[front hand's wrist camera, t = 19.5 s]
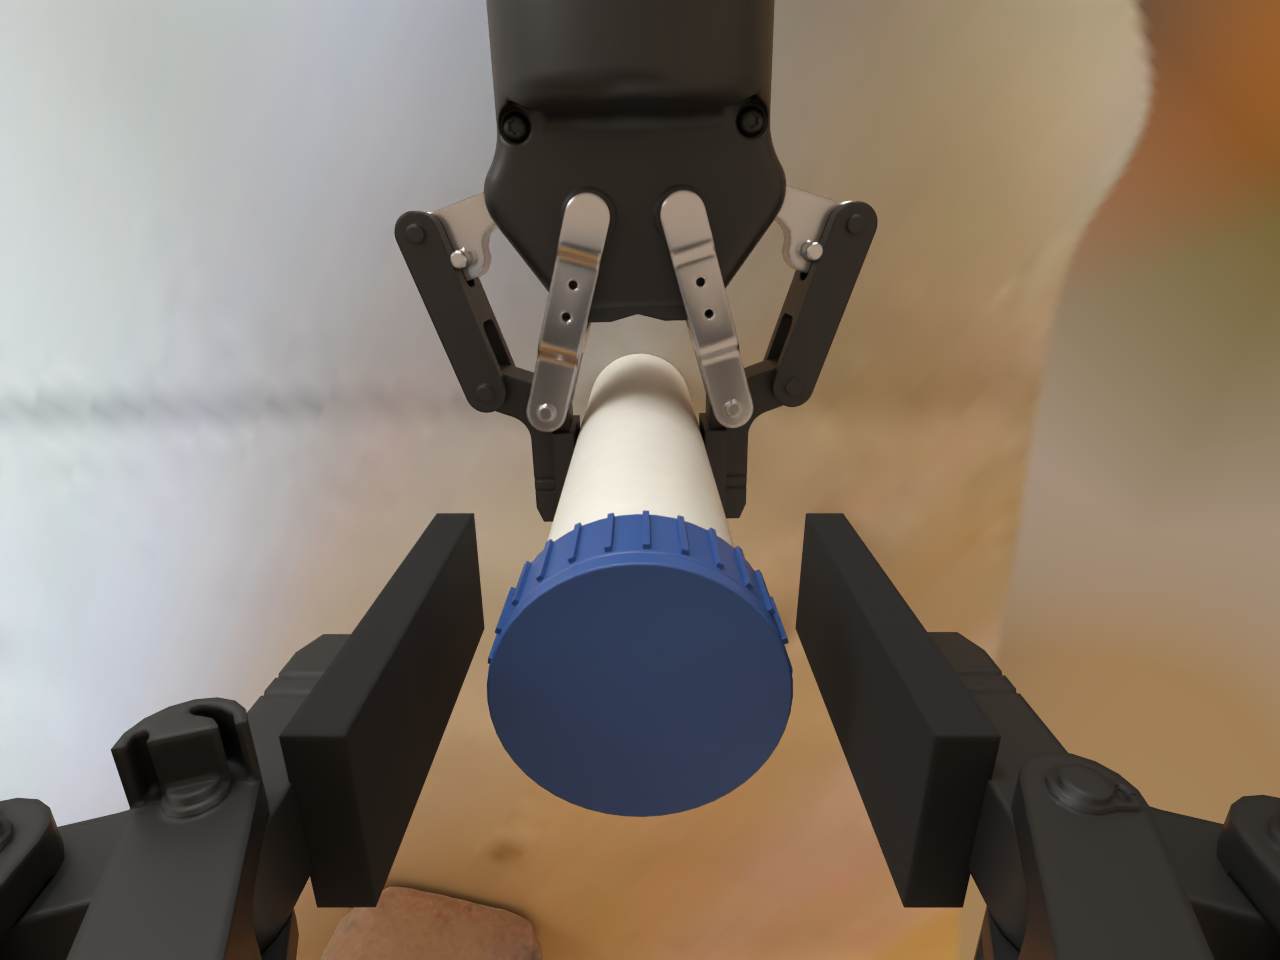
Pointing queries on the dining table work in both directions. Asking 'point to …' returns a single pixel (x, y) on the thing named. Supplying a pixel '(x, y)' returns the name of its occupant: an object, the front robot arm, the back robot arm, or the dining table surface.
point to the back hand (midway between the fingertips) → (642, 525)
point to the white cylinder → (640, 452)
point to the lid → (639, 667)
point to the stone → (431, 930)
